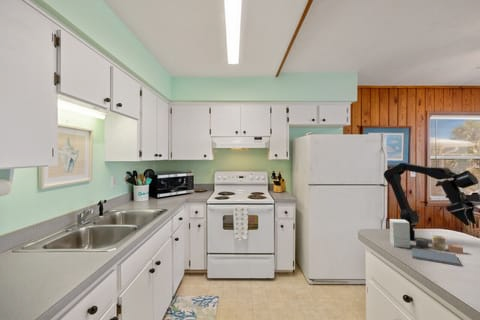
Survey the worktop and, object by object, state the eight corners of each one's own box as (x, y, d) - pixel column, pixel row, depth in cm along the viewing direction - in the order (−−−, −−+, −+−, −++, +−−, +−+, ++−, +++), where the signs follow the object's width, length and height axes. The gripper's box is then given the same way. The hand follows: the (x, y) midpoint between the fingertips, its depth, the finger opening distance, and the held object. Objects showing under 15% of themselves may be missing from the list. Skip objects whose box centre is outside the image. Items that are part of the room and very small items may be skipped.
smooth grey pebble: (416, 246, 124) (416, 240, 124) (415, 244, 129) (415, 238, 129) (428, 248, 122) (428, 242, 122) (427, 245, 126) (427, 239, 126)
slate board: (412, 258, 110) (412, 255, 110) (411, 249, 120) (411, 247, 120) (460, 266, 101) (460, 263, 101) (455, 256, 111) (455, 254, 111)
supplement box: (405, 243, 129) (405, 219, 129) (410, 248, 122) (409, 222, 122) (389, 242, 132) (389, 218, 132) (393, 246, 125) (392, 221, 125)
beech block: (433, 249, 120) (433, 237, 120) (432, 246, 124) (432, 234, 124) (445, 251, 118) (445, 238, 118) (444, 248, 121) (443, 236, 121)
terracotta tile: (448, 252, 117) (448, 246, 117) (448, 250, 119) (447, 244, 119) (463, 254, 114) (462, 247, 114) (461, 252, 116) (461, 246, 116)
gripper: (466, 185, 107) (488, 221, 101) (479, 185, 117) (499, 218, 111) (437, 194, 115) (456, 228, 109) (452, 193, 126) (470, 224, 119)
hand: (471, 224), depth 112 cm, fingers open, 9 cm apart
